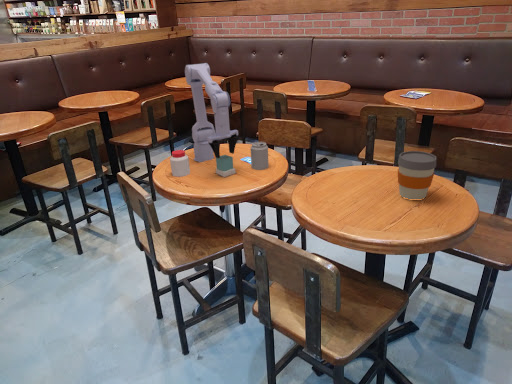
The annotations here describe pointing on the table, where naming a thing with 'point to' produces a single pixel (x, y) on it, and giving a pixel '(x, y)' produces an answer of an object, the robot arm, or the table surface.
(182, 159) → the pill bottle
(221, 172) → the top tile
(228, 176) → the bottom tile
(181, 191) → the table surface
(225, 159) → the cube
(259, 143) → the can
